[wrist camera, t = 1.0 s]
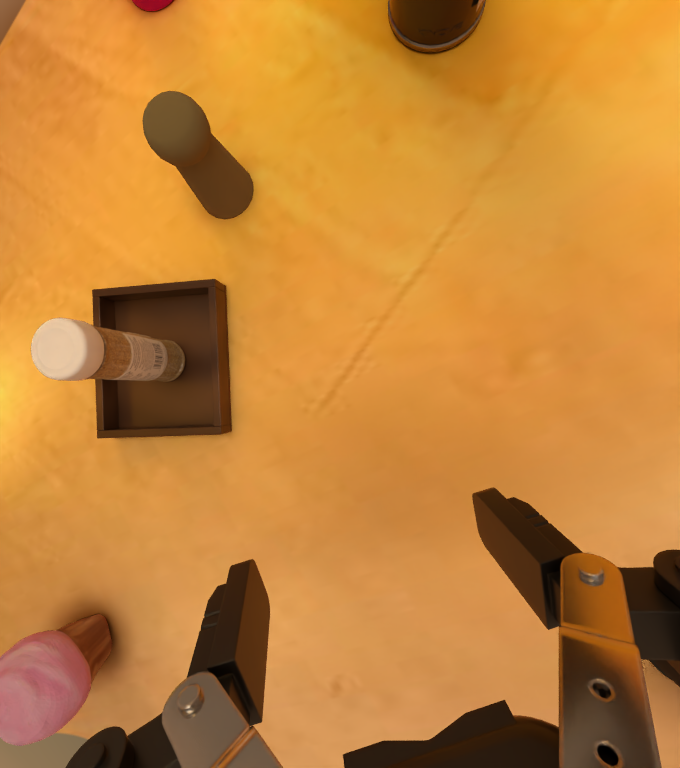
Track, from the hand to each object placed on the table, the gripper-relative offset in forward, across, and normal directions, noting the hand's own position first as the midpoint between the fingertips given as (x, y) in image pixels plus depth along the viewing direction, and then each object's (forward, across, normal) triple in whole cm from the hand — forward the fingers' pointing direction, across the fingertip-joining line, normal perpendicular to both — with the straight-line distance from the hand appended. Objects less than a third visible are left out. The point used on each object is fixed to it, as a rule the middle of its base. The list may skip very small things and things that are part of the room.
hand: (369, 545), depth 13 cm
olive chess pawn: (+33, +4, -21) cm, 40 cm away
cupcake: (+25, +32, +21) cm, 45 cm away
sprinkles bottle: (+30, +15, -5) cm, 34 cm away
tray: (+30, +15, -5) cm, 34 cm away
